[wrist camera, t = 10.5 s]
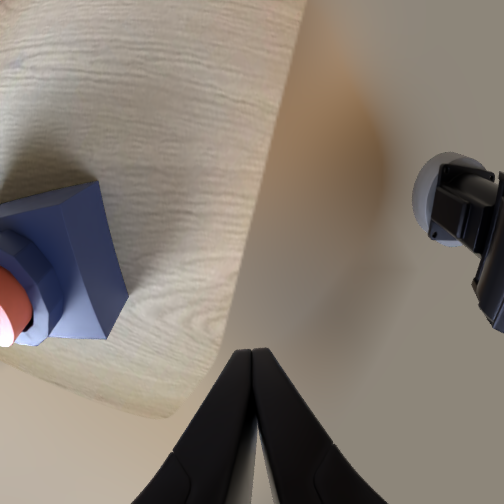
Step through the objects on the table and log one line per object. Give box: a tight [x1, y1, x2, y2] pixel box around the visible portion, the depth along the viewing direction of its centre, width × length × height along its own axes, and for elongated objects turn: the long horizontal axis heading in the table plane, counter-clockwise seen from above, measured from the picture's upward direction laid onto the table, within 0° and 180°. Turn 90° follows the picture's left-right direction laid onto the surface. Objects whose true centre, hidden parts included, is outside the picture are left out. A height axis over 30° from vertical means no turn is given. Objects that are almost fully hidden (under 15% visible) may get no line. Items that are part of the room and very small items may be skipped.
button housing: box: [0, 181, 129, 346], centre depth 17 cm, size 11×9×7 cm
